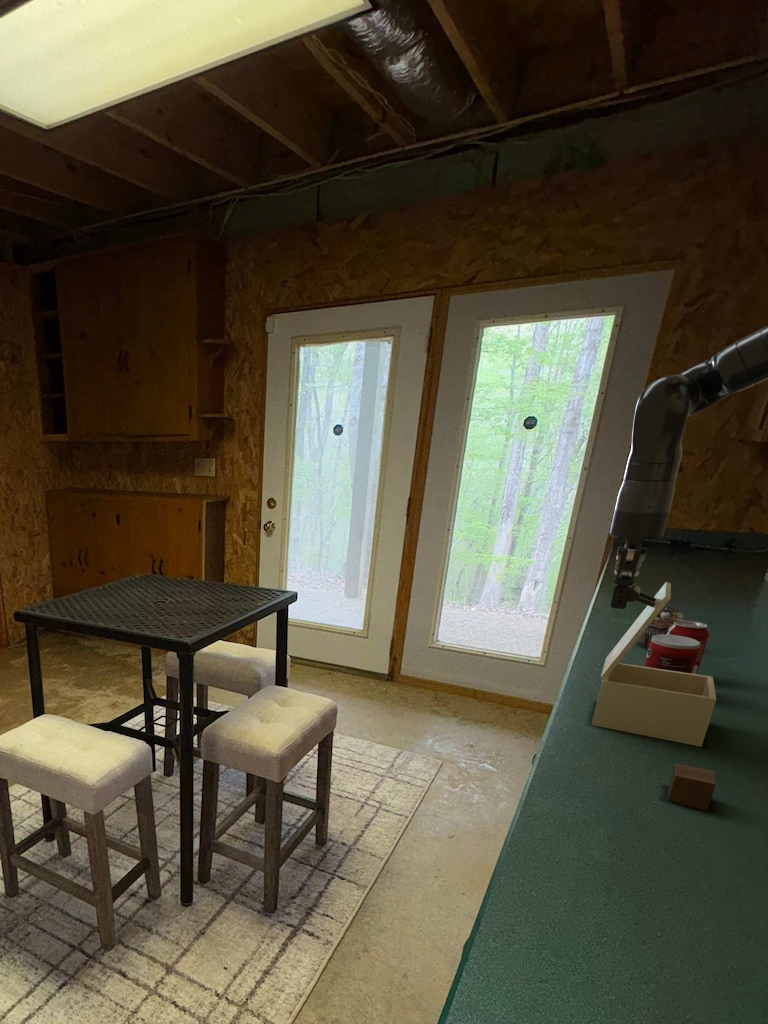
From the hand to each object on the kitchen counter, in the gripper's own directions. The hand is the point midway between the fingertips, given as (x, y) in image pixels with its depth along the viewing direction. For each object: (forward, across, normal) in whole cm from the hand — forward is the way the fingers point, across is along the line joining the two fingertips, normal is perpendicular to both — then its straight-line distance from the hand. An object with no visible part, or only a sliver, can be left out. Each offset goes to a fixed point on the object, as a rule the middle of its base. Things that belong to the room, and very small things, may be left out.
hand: (619, 602), depth 110 cm
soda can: (+22, +31, -12) cm, 40 cm away
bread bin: (+22, 0, -8) cm, 23 cm away
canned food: (+22, +20, -10) cm, 31 cm away
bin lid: (+5, 0, -4) cm, 6 cm away
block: (+22, -28, -14) cm, 38 cm away
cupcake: (+22, +53, -10) cm, 58 cm away
